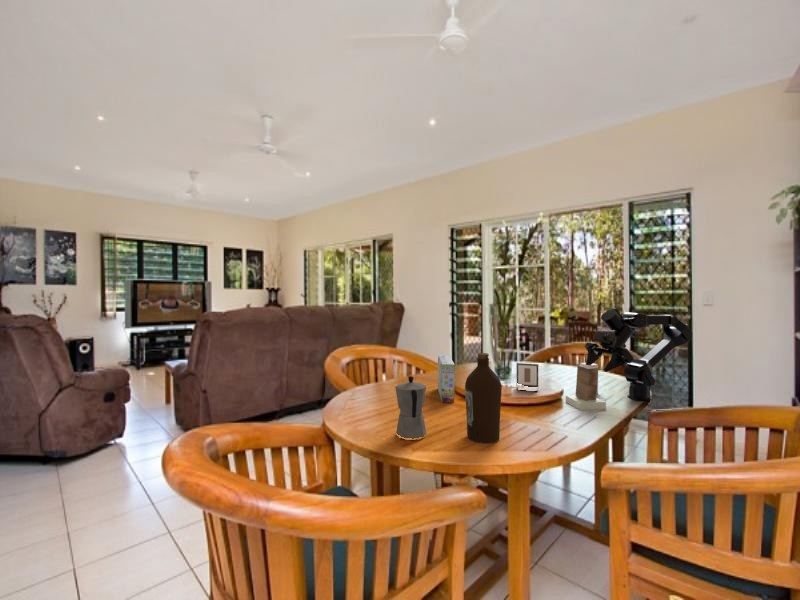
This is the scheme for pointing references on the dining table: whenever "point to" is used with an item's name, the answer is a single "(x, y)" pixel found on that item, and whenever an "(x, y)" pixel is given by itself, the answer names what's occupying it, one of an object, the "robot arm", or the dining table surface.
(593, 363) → the grey block
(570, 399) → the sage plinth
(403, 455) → the dining table surface
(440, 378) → the snack box
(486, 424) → the olive oil
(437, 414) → the dining table surface
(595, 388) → the walnut block
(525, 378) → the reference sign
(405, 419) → the coffeepot
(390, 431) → the dining table surface
